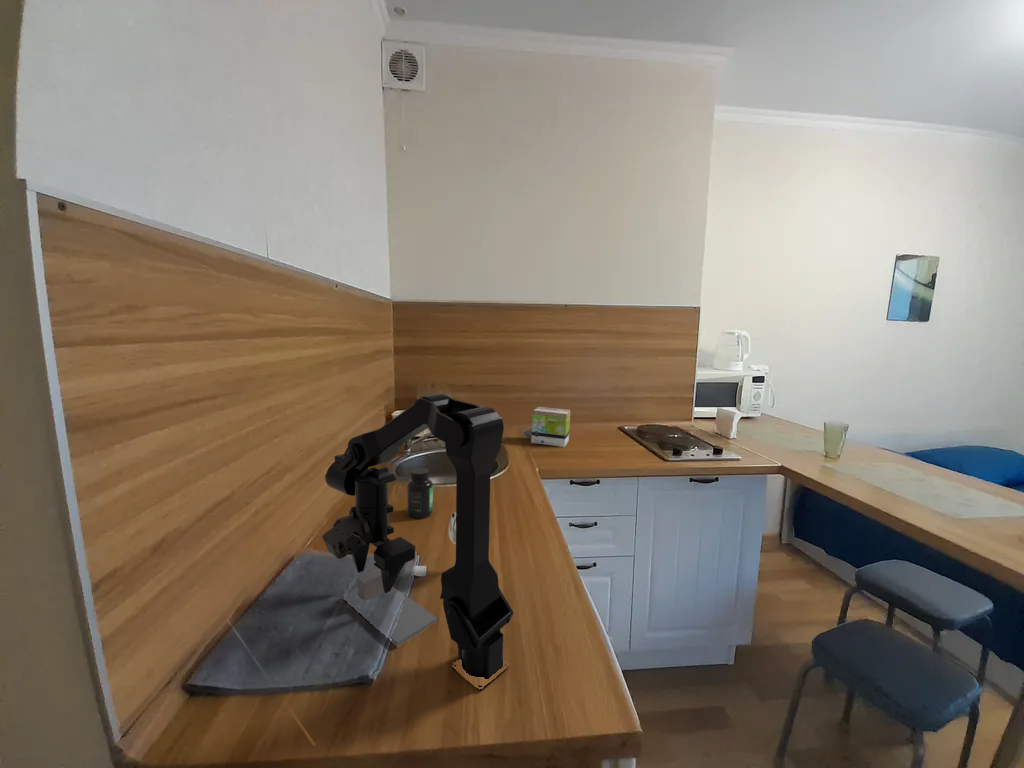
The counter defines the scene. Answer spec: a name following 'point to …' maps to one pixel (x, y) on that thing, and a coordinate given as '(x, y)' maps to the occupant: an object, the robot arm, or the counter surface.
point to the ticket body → (411, 621)
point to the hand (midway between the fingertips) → (373, 581)
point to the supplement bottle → (419, 494)
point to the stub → (370, 584)
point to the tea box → (550, 426)
